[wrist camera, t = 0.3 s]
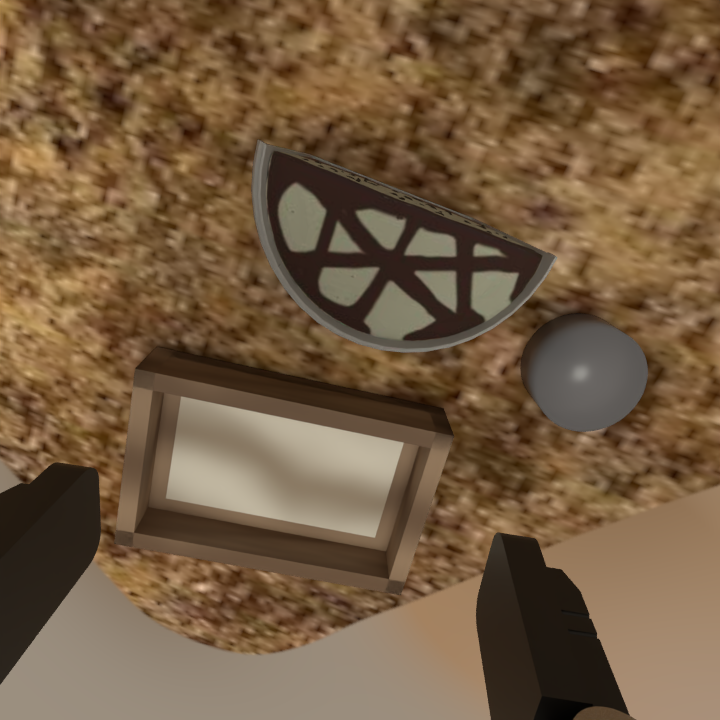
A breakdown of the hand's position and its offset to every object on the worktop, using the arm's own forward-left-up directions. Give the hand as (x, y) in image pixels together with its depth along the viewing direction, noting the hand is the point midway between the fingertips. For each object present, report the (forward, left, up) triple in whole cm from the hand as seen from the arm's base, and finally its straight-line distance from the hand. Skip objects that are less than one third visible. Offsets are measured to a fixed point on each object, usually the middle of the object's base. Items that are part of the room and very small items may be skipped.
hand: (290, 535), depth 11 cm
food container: (-3, +2, -22) cm, 22 cm away
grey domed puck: (+1, +15, -21) cm, 26 cm away
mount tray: (+11, 0, -21) cm, 24 cm away
